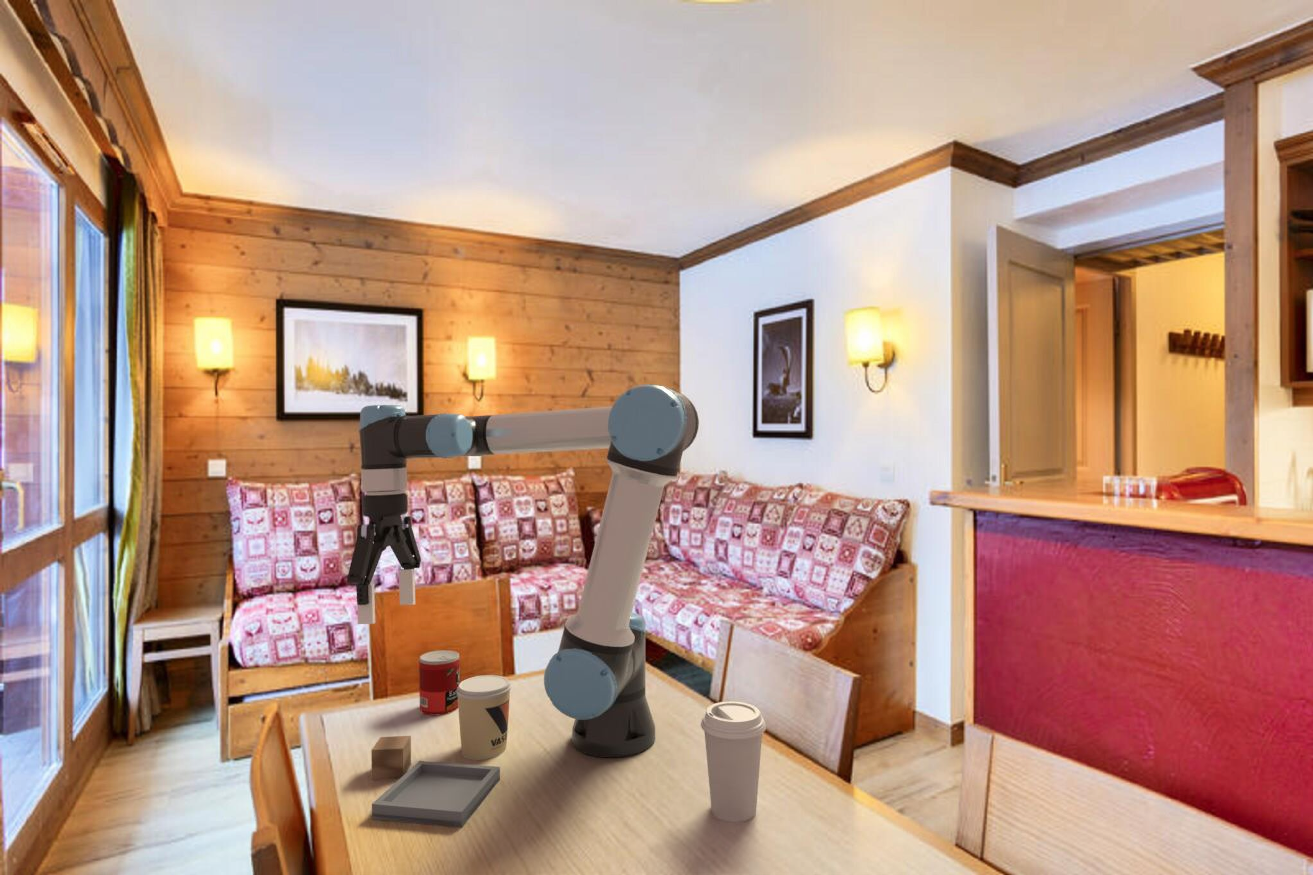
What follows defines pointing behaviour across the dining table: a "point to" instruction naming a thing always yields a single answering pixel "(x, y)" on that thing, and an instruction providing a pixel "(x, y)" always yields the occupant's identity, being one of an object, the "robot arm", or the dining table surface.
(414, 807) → the tray
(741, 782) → the coffee cup
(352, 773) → the dining table surface
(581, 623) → the robot arm
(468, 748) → the coffee cup
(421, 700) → the canned food
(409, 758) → the walnut cube
